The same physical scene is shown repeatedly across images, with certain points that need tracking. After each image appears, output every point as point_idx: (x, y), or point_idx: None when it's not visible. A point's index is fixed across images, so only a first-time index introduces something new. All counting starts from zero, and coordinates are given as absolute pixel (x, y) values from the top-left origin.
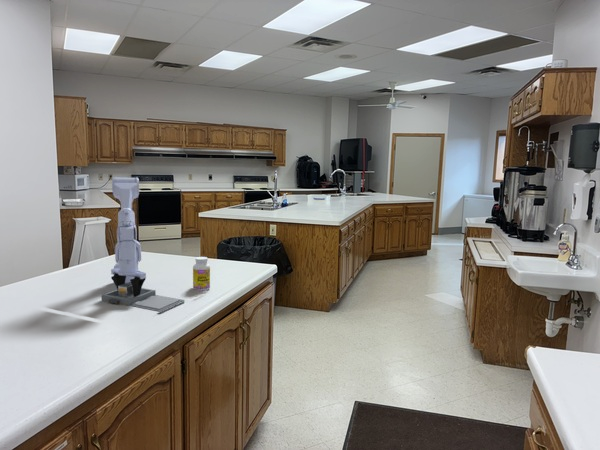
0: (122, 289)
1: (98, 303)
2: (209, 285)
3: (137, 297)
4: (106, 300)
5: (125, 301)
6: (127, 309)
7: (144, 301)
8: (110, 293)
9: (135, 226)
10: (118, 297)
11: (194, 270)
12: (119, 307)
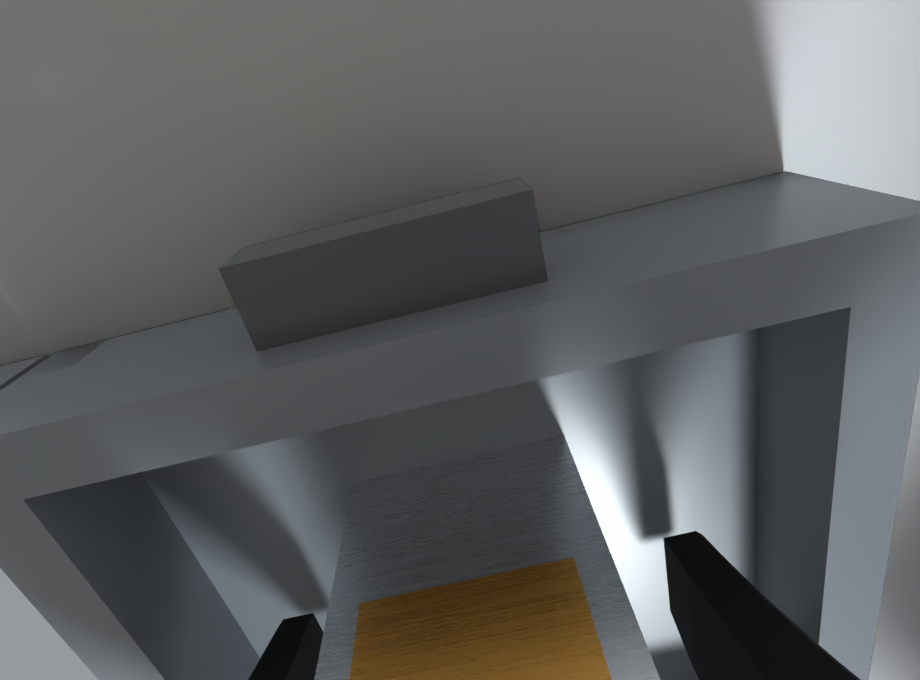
0: (468, 675)
1: (830, 106)
2: None
3: (75, 636)
4: (682, 222)
5: (73, 394)
6: (22, 298)
7: (24, 622)
8: (827, 434)
9: None
10: (325, 391)
11: None
12: None
